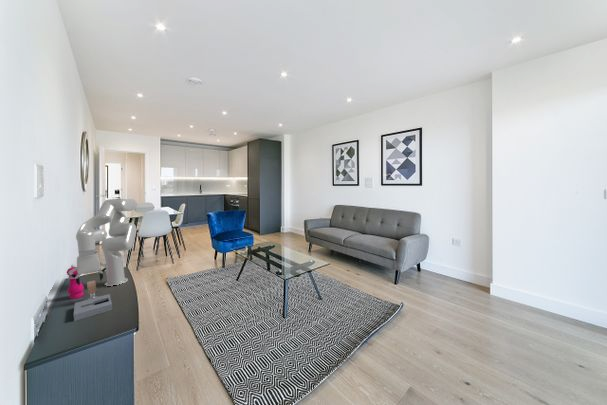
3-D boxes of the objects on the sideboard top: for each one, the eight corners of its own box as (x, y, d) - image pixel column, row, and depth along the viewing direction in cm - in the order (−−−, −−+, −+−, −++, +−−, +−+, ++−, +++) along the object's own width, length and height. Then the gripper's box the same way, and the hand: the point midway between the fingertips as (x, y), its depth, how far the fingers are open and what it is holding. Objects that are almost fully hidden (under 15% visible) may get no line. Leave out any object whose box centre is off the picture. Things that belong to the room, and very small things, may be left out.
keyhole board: (75, 308, 135) (74, 302, 134) (110, 299, 144) (109, 293, 144) (74, 321, 122) (73, 314, 122) (112, 309, 132) (111, 304, 131)
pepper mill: (66, 300, 145) (62, 267, 143) (71, 295, 151) (67, 264, 149) (82, 297, 148) (78, 265, 146) (86, 292, 154) (82, 261, 153)
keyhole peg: (87, 300, 144) (85, 282, 143) (98, 297, 147) (96, 279, 146) (87, 303, 141) (85, 284, 140) (98, 300, 144) (96, 281, 143)
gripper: (106, 249, 150) (108, 276, 151) (67, 255, 139) (70, 284, 139) (107, 251, 144) (109, 279, 145) (66, 257, 133) (69, 288, 134)
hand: (90, 282), depth 142 cm, fingers open, 9 cm apart
